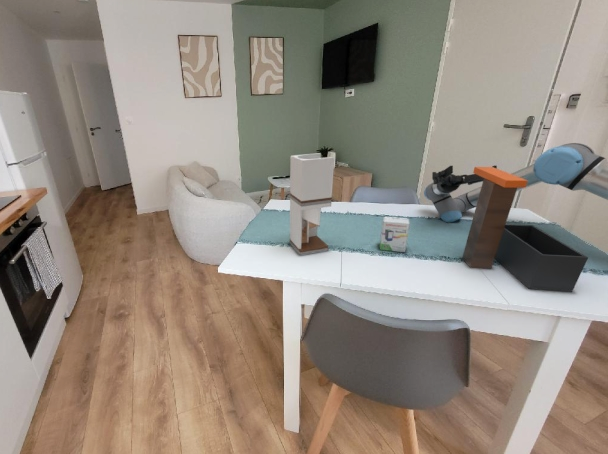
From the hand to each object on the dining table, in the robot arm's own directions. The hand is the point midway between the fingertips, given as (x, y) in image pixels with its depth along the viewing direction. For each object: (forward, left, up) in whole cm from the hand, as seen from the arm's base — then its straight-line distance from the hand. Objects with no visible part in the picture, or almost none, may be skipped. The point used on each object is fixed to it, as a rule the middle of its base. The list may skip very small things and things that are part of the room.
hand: (473, 169), depth 102 cm
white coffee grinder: (+20, +54, -28) cm, 64 cm away
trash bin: (-24, +2, -28) cm, 37 cm away
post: (-15, +11, -28) cm, 33 cm away
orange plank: (-13, +10, 0) cm, 17 cm away
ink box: (+5, +27, -28) cm, 39 cm away
